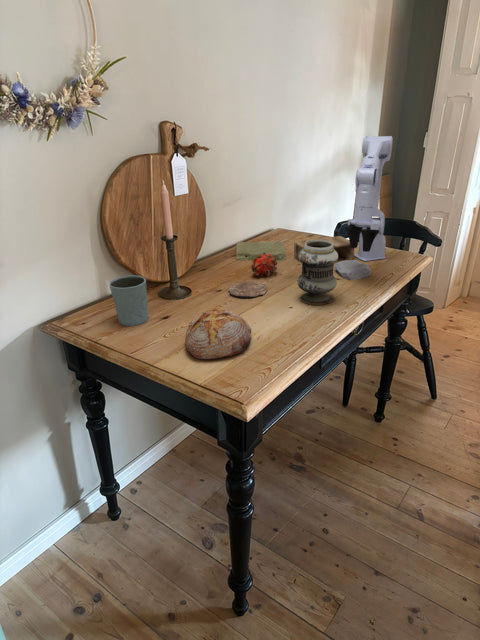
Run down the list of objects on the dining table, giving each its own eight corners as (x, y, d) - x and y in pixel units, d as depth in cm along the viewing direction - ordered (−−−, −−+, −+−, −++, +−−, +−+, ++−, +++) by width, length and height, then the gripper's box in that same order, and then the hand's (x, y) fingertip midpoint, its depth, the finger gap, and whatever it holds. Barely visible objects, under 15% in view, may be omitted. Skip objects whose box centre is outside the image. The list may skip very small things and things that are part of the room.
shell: (266, 300, 149) (266, 289, 148) (226, 300, 150) (226, 289, 149) (267, 286, 160) (267, 276, 158) (230, 286, 161) (230, 276, 159)
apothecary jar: (314, 310, 140) (316, 251, 133) (289, 297, 149) (289, 242, 142) (344, 300, 146) (347, 243, 138) (317, 289, 155) (320, 235, 148)
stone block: (349, 286, 162) (373, 276, 164) (347, 273, 160) (372, 263, 162) (331, 276, 172) (354, 267, 175) (329, 264, 170) (352, 255, 172)
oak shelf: (338, 251, 191) (339, 235, 188) (354, 259, 181) (355, 243, 179) (293, 257, 186) (294, 241, 183) (306, 266, 176) (307, 249, 173)
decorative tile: (236, 248, 201) (236, 240, 200) (283, 247, 200) (284, 239, 199) (234, 262, 184) (234, 254, 183) (286, 261, 183) (286, 253, 182)
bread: (172, 359, 119) (166, 323, 114) (210, 327, 135) (205, 294, 130) (231, 369, 112) (226, 331, 108) (263, 333, 128) (260, 299, 124)
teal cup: (155, 321, 136) (150, 283, 131) (121, 330, 132) (115, 290, 127) (143, 309, 144) (138, 272, 139) (111, 317, 140) (104, 279, 135)
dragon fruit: (277, 274, 174) (256, 288, 167) (262, 258, 176) (240, 271, 169) (286, 260, 167) (264, 273, 160) (270, 243, 169) (248, 256, 162)
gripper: (341, 205, 156) (337, 246, 160) (365, 208, 143) (361, 253, 147) (359, 205, 158) (356, 246, 162) (385, 208, 145) (380, 252, 149)
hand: (359, 249), depth 155 cm, fingers open, 7 cm apart
